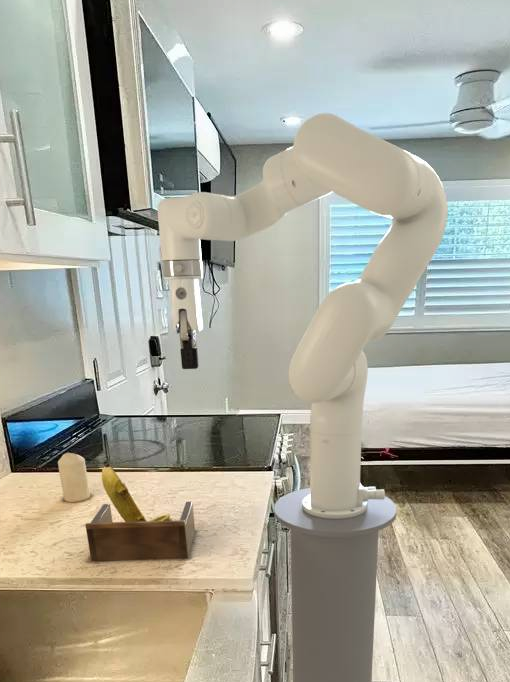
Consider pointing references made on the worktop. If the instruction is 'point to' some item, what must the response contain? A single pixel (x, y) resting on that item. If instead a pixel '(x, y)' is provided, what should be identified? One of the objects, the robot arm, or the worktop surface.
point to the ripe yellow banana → (123, 497)
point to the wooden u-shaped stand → (140, 537)
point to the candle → (73, 477)
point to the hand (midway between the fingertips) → (190, 368)
